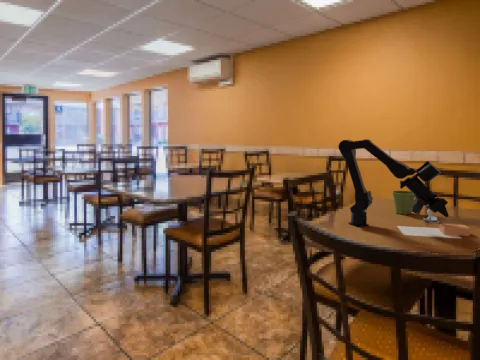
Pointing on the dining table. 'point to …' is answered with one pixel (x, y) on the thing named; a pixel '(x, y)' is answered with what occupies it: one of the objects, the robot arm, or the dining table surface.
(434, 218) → the pacifier
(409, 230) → the mat
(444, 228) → the orange block
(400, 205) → the plant pot
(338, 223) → the dining table surface
